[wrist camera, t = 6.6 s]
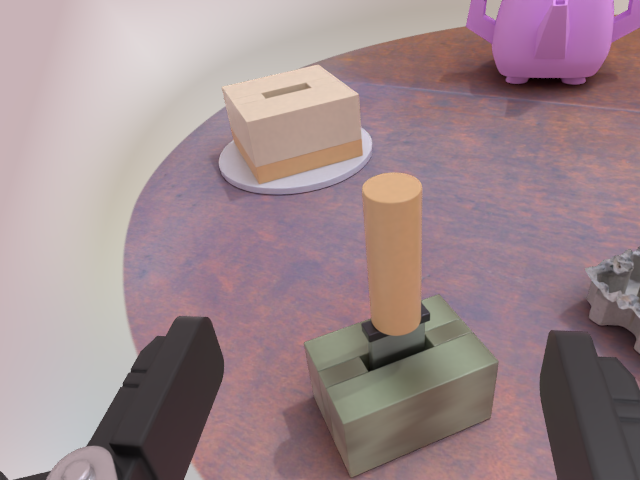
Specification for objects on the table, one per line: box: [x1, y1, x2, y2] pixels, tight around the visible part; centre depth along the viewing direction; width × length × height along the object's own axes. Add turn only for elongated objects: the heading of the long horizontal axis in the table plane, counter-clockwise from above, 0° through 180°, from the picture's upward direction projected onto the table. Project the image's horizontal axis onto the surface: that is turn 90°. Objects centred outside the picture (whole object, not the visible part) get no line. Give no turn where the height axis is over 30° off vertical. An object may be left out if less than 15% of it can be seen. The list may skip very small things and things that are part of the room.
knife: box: [361, 173, 430, 371], centre depth 27 cm, size 4×3×16 cm
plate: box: [219, 128, 373, 195], centre depth 61 cm, size 18×18×1 cm
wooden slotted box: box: [222, 65, 363, 184], centre depth 58 cm, size 12×12×7 cm
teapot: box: [466, 0, 640, 85], centre depth 69 cm, size 19×18×15 cm
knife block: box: [304, 294, 499, 478], centre depth 30 cm, size 9×6×5 cm, turn 111°
